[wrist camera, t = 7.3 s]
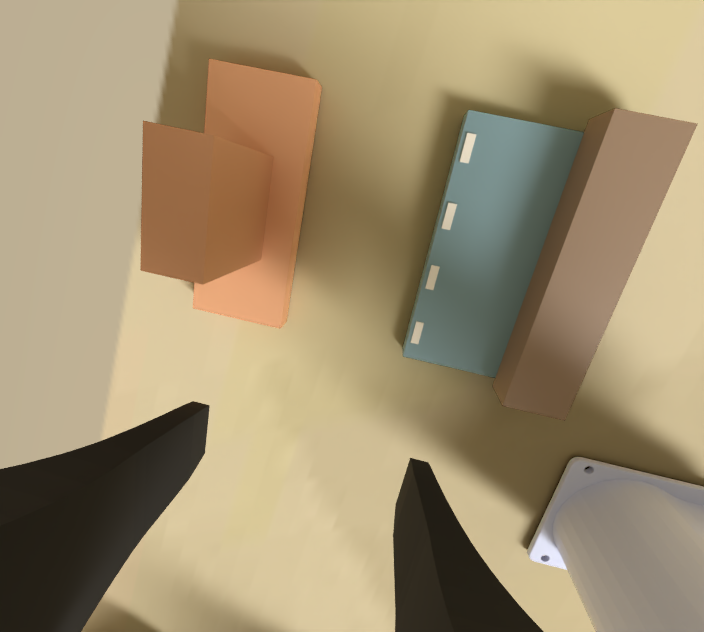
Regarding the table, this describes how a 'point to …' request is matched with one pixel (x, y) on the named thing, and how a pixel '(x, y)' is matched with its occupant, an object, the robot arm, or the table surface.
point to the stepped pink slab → (232, 192)
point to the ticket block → (539, 248)
